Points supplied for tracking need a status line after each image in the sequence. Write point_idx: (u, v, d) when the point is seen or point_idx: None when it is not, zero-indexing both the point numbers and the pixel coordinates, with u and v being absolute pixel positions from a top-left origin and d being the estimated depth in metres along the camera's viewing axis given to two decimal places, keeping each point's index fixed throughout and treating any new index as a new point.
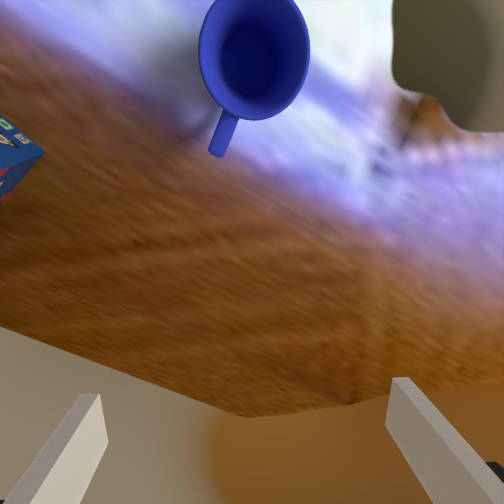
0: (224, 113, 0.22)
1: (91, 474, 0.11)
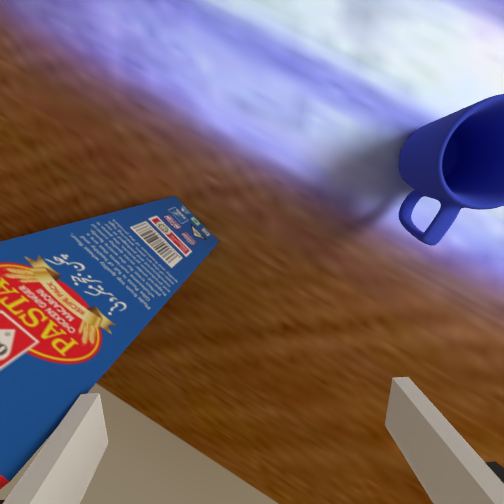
0: (446, 204, 0.22)
1: (90, 474, 0.11)
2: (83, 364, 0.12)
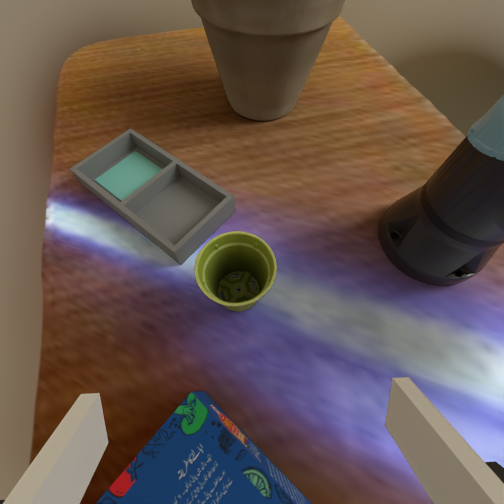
0: None
1: (91, 474, 0.11)
2: (224, 425, 0.25)
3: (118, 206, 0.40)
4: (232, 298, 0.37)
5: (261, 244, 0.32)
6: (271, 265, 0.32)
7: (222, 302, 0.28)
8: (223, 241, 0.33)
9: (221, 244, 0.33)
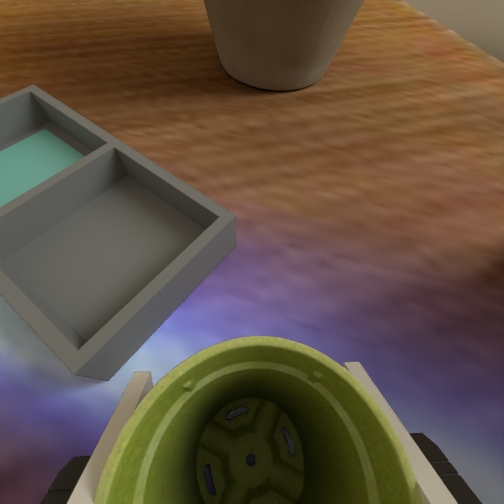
0: None
1: None
2: None
3: None
4: (235, 490, 0.14)
5: (338, 382, 0.10)
6: (384, 470, 0.09)
7: None
8: (212, 364, 0.10)
9: (203, 374, 0.10)
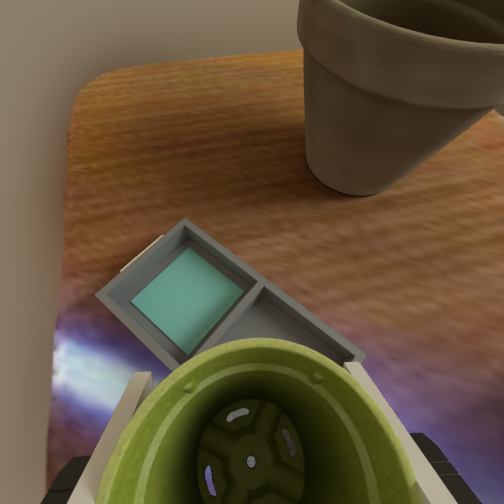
0: None
1: None
2: None
3: None
4: (236, 492, 0.14)
5: (338, 384, 0.10)
6: (384, 472, 0.09)
7: None
8: (213, 366, 0.10)
9: (204, 376, 0.10)
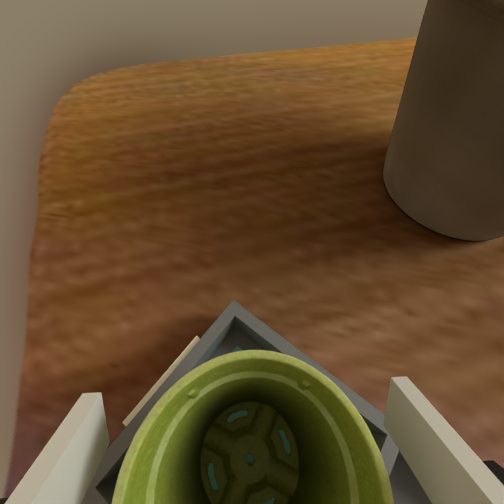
0: None
1: (93, 473, 0.11)
2: None
3: None
4: (236, 486, 0.15)
5: (323, 390, 0.11)
6: (362, 466, 0.10)
7: None
8: (213, 374, 0.12)
9: (206, 383, 0.12)
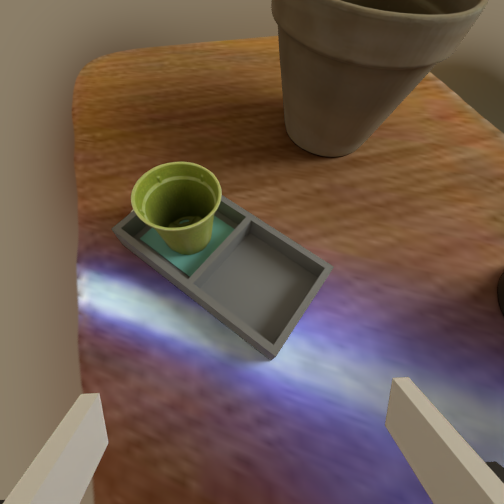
0: None
1: (91, 474, 0.11)
2: None
3: (186, 285, 0.30)
4: None
5: (207, 175, 0.31)
6: (216, 195, 0.30)
7: (160, 227, 0.26)
8: (167, 173, 0.31)
9: (164, 176, 0.31)
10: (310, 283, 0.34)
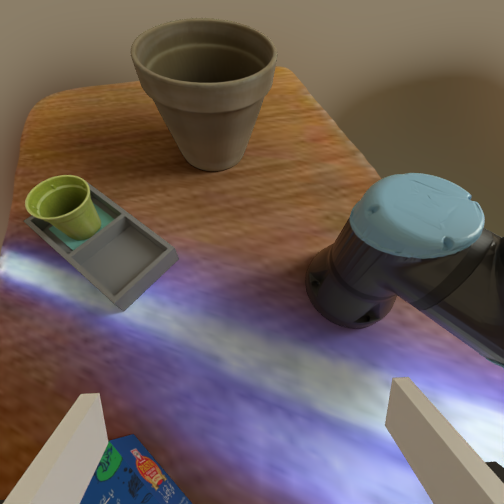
0: None
1: (91, 474, 0.11)
2: (137, 470, 0.28)
3: (66, 258, 0.43)
4: None
5: (85, 184, 0.45)
6: None
7: (39, 217, 0.40)
8: (59, 183, 0.45)
9: (57, 185, 0.45)
10: None
